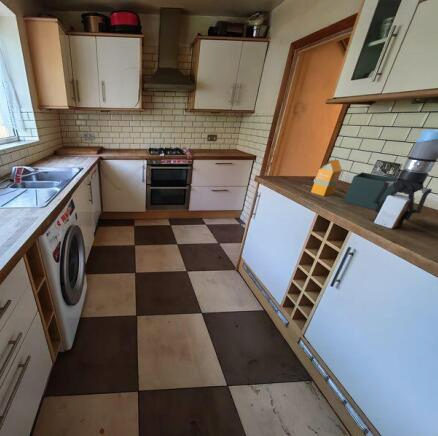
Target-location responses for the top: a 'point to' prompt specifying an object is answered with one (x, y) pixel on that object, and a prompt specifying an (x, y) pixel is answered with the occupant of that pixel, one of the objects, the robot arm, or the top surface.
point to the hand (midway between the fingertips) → (387, 222)
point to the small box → (393, 210)
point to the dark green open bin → (367, 190)
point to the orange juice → (327, 178)
